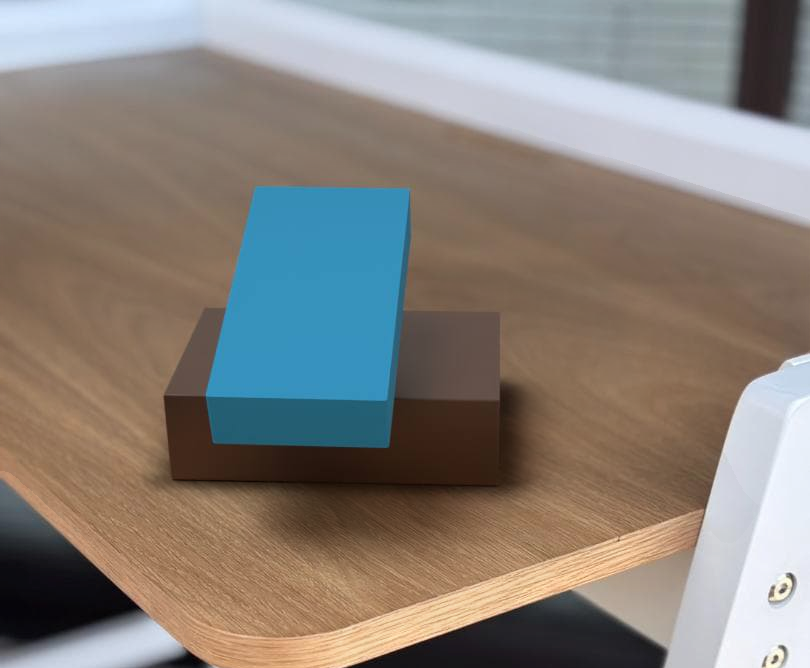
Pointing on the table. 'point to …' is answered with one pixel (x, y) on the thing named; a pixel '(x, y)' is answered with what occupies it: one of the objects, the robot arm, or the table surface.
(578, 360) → the table surface
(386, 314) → the blue rectangular block
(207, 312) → the walnut block
